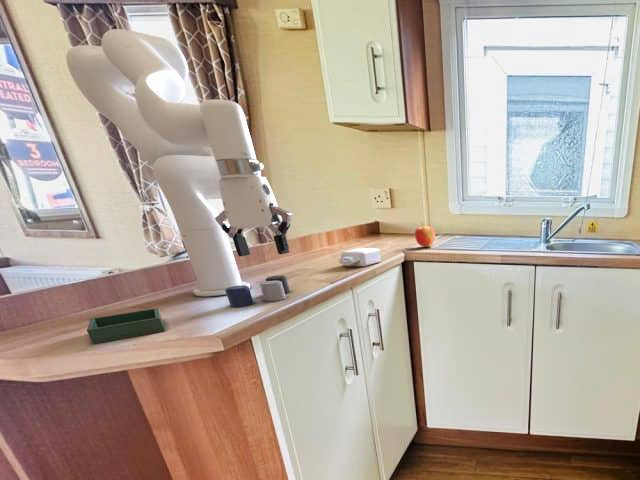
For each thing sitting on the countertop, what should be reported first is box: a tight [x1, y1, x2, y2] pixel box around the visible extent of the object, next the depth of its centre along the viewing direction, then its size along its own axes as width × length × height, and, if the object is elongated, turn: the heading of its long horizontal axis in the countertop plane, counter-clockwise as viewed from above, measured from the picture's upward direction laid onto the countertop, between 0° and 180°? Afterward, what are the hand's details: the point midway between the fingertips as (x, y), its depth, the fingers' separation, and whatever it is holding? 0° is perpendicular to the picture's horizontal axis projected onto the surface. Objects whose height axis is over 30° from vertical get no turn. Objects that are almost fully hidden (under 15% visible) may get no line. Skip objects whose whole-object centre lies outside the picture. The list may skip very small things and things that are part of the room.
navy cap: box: [225, 285, 254, 308], centre depth 96 cm, size 5×5×4 cm
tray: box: [86, 307, 166, 345], centre depth 80 cm, size 10×10×3 cm
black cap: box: [265, 274, 291, 295], centre depth 106 cm, size 5×5×4 cm
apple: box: [414, 223, 436, 248], centre depth 177 cm, size 8×8×10 cm
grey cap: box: [259, 281, 287, 302], centre depth 100 cm, size 5×5×4 cm
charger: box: [337, 247, 382, 268], centre depth 139 cm, size 5×9×15 cm
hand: (264, 254), depth 96 cm, fingers open, 9 cm apart
